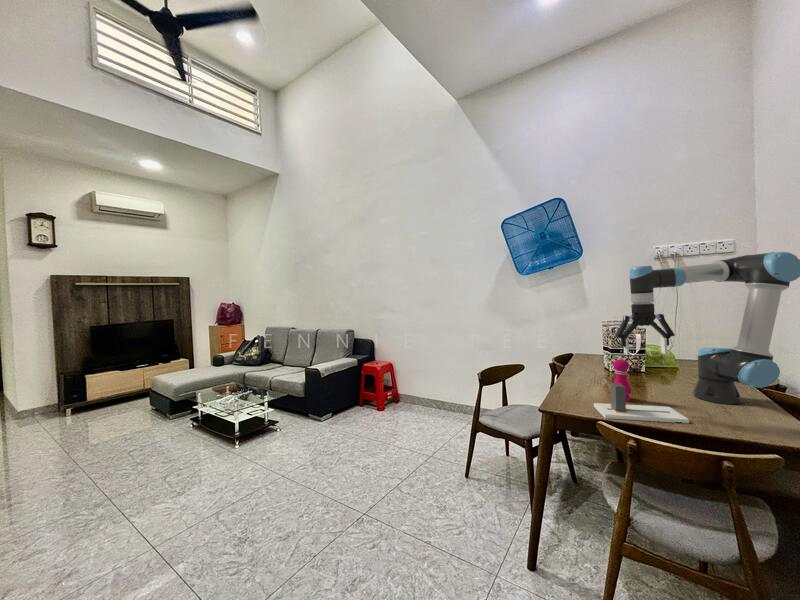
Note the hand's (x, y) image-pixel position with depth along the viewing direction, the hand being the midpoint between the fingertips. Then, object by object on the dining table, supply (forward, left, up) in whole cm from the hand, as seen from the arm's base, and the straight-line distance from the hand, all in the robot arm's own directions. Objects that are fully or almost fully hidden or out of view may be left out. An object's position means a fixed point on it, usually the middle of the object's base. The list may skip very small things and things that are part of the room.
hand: (645, 354), depth 130 cm
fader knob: (+12, +5, -22) cm, 26 cm away
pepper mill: (+4, -13, -24) cm, 28 cm away
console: (+5, +5, -24) cm, 25 cm away
